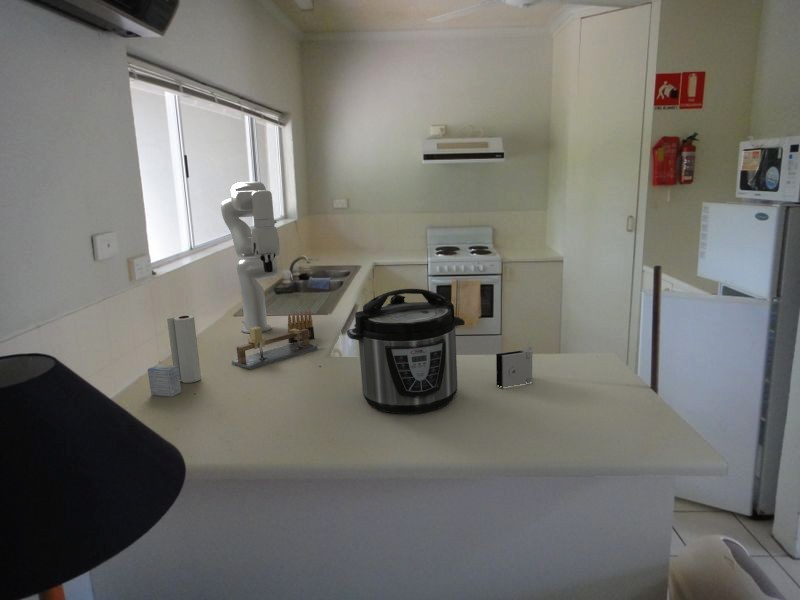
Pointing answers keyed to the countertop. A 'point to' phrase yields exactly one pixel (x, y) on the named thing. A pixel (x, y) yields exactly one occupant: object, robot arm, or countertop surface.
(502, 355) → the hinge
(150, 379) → the pale blue-grey upright block
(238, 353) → the bar
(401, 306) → the pressure cooker
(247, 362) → the bolt-hole plate
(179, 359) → the paper towel roll
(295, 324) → the ammunition clip
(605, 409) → the countertop surface
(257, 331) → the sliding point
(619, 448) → the countertop surface
